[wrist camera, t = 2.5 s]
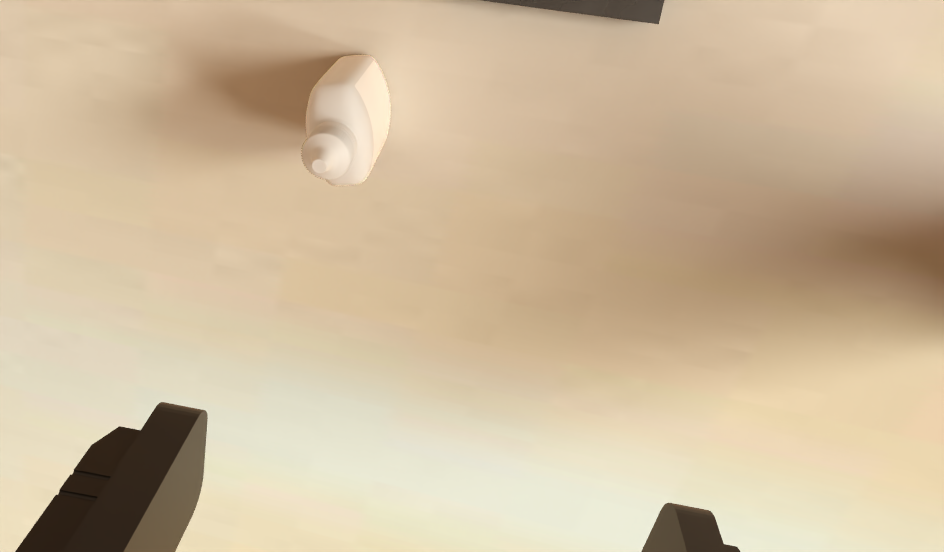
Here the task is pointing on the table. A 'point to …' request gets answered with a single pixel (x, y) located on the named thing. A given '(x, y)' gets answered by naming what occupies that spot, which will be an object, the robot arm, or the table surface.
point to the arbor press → (600, 8)
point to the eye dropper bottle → (347, 121)
